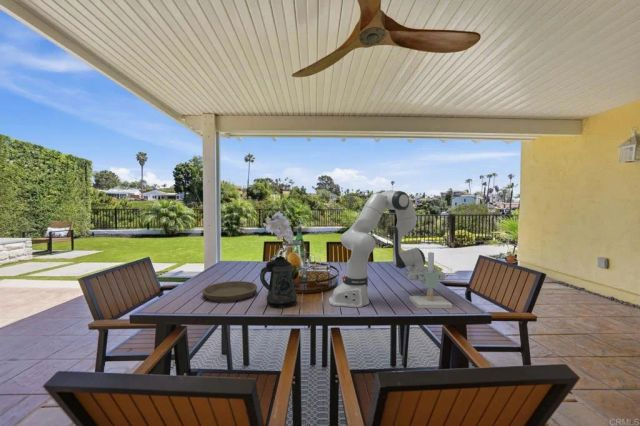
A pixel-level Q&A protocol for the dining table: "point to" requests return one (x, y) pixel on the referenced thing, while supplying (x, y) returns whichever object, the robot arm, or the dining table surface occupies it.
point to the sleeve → (431, 279)
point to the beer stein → (279, 283)
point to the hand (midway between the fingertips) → (431, 279)
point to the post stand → (430, 293)
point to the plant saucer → (229, 291)
